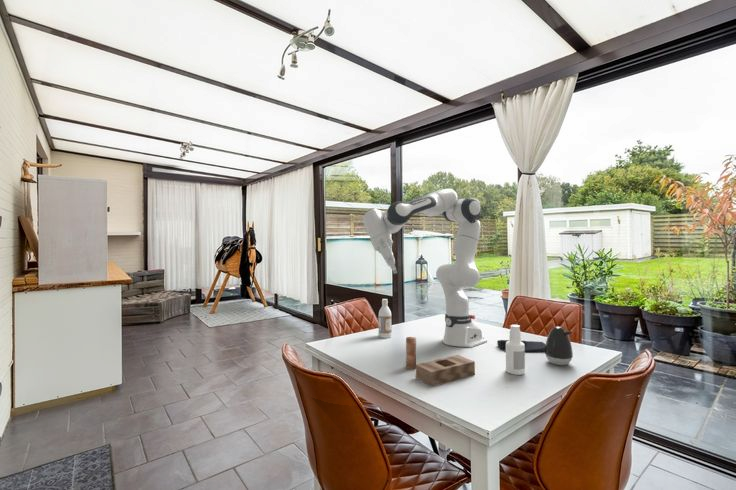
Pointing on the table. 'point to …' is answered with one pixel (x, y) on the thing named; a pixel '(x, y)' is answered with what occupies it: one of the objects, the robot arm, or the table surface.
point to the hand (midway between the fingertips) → (395, 271)
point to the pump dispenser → (558, 347)
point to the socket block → (445, 370)
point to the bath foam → (385, 320)
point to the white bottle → (515, 352)
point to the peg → (411, 353)
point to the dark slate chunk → (529, 346)
